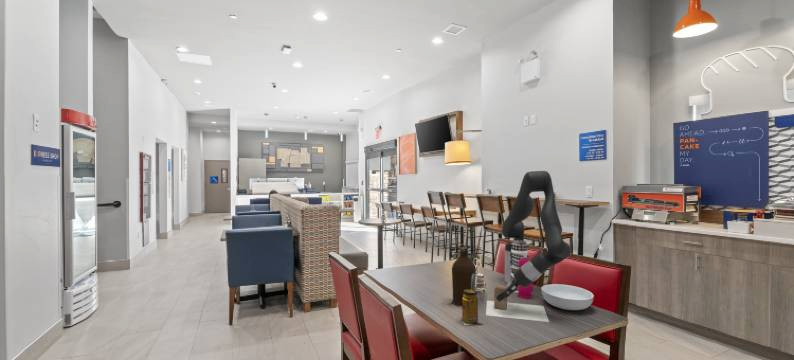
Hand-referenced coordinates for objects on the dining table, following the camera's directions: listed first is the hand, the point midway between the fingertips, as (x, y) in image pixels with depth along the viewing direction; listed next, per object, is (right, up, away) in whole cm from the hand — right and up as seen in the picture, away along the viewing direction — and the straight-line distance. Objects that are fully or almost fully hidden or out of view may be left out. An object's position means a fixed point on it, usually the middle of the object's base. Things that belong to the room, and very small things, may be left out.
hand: (499, 296), depth 156 cm
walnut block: (+1, -5, 0) cm, 5 cm away
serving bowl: (+31, -6, +4) cm, 31 cm away
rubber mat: (+6, -5, -3) cm, 8 cm away
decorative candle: (+17, -5, +25) cm, 31 cm away
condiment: (-15, -5, -14) cm, 21 cm away
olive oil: (-14, -5, +6) cm, 16 cm away
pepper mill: (+16, -5, +15) cm, 23 cm away
